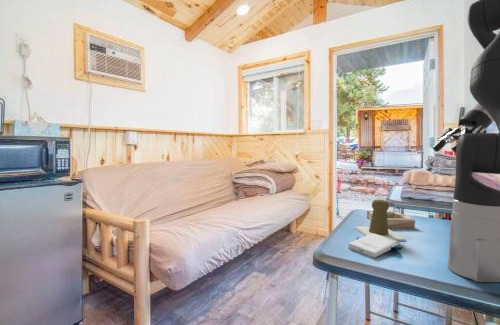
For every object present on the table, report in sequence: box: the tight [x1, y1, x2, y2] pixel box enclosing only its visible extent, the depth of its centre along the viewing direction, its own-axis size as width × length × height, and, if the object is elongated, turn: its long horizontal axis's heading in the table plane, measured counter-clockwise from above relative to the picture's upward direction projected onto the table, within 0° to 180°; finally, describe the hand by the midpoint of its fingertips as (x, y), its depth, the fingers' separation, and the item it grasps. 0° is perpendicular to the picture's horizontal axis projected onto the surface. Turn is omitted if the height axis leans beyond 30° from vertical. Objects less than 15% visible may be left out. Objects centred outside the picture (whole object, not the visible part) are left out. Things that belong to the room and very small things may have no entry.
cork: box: [369, 199, 390, 235], centre depth 88 cm, size 6×6×11 cm
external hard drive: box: [347, 233, 400, 258], centre depth 76 cm, size 2×8×12 cm
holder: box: [366, 210, 416, 229], centre depth 102 cm, size 12×12×3 cm
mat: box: [354, 225, 407, 242], centre depth 89 cm, size 12×11×1 cm
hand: (443, 150), depth 89 cm, fingers open, 8 cm apart
